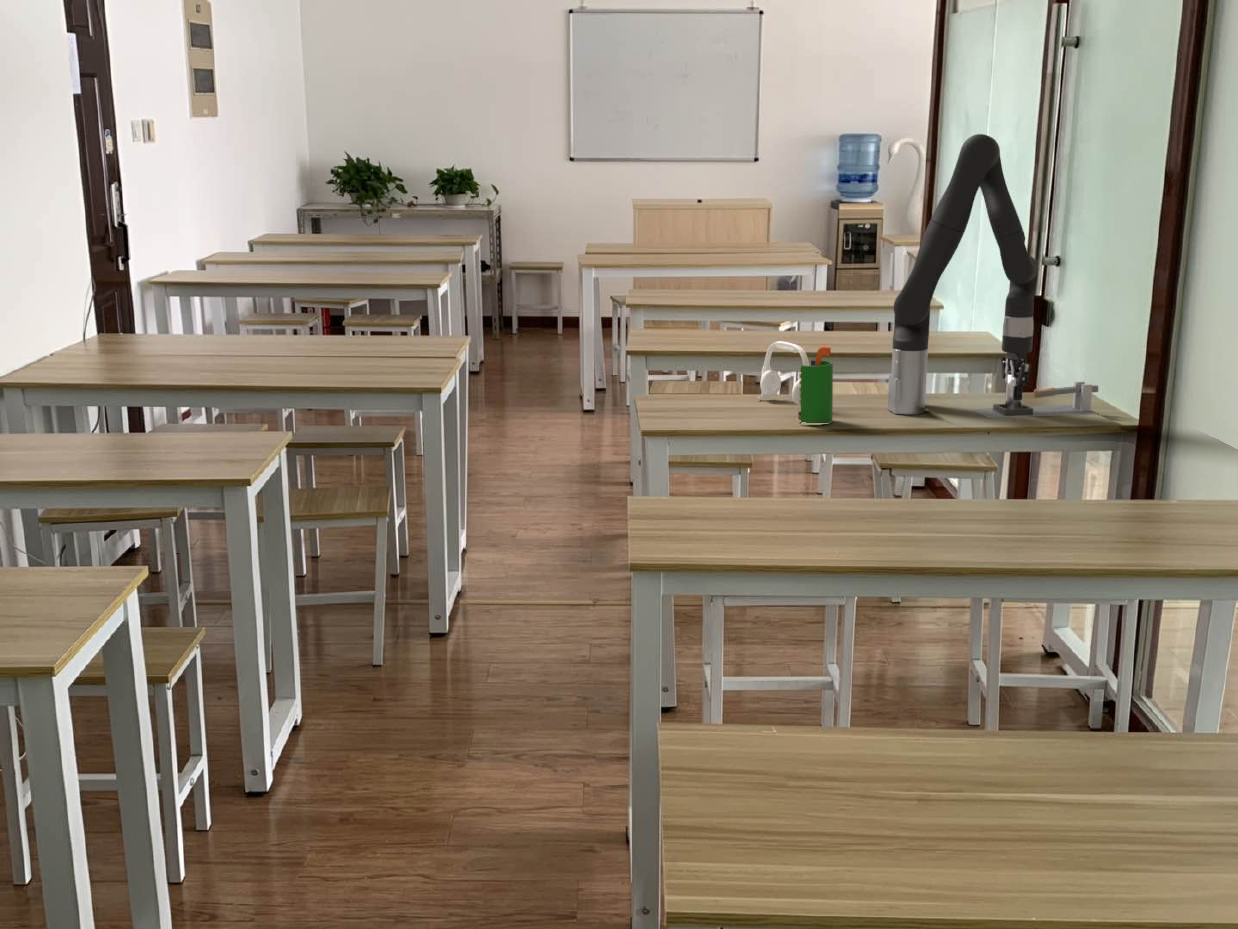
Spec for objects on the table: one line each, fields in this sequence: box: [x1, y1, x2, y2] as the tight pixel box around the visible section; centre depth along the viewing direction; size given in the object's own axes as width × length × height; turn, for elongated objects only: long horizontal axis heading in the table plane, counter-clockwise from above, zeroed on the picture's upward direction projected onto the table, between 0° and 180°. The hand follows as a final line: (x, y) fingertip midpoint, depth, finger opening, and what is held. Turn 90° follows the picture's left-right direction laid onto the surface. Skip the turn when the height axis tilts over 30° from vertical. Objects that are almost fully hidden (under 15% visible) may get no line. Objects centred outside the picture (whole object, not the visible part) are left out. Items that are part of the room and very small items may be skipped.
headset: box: [757, 340, 811, 406], centre depth 346 cm, size 20×7×18 cm, turn 29°
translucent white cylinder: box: [1004, 374, 1023, 409], centre depth 325 cm, size 4×4×10 cm
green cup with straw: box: [797, 345, 834, 423], centre depth 324 cm, size 10×9×20 cm
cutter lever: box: [1033, 384, 1099, 398], centre depth 327 cm, size 17×2×2 cm, turn 97°
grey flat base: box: [971, 381, 1101, 419], centre depth 327 cm, size 30×12×8 cm, turn 97°
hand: (1013, 398), depth 326 cm, fingers closed on translucent white cylinder, 4 cm apart
